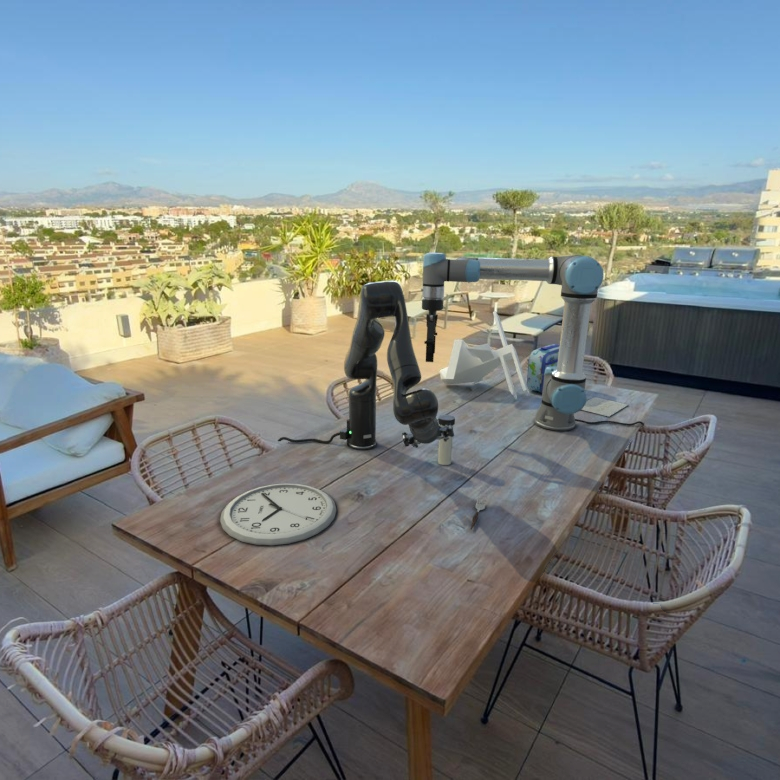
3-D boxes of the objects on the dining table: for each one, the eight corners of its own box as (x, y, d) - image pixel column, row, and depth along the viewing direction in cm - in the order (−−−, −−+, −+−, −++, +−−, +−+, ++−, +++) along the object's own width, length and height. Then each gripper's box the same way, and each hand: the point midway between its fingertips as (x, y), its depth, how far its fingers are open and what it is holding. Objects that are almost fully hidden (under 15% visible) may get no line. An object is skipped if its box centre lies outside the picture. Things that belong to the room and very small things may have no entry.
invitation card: (608, 416, 214) (573, 407, 224) (608, 416, 214) (573, 408, 224) (628, 404, 229) (594, 396, 238) (628, 405, 229) (594, 397, 238)
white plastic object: (461, 429, 252) (437, 405, 227) (444, 352, 274) (420, 323, 250) (535, 404, 240) (518, 377, 215) (510, 326, 262) (492, 293, 237)
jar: (447, 458, 173) (449, 415, 168) (453, 464, 169) (455, 420, 164) (435, 460, 171) (437, 417, 167) (441, 466, 168) (443, 421, 163)
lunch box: (543, 396, 238) (548, 352, 231) (522, 391, 245) (526, 347, 239) (570, 385, 255) (575, 343, 249) (550, 381, 262) (555, 340, 256)
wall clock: (335, 537, 125) (206, 541, 122) (335, 543, 125) (207, 547, 123) (337, 479, 154) (232, 481, 151) (337, 484, 154) (233, 486, 151)
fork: (465, 530, 132) (466, 523, 131) (477, 500, 146) (478, 494, 146) (475, 532, 131) (476, 525, 130) (487, 502, 145) (487, 496, 145)
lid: (450, 419, 169) (450, 413, 169) (457, 425, 165) (458, 419, 164) (435, 421, 168) (435, 415, 167) (442, 427, 163) (443, 421, 162)
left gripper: (447, 406, 138) (452, 424, 153) (395, 418, 140) (404, 434, 155) (453, 433, 135) (457, 448, 150) (400, 445, 137) (409, 458, 152)
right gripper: (424, 293, 195) (422, 349, 202) (419, 302, 172) (417, 365, 178) (444, 294, 195) (441, 350, 201) (442, 303, 171) (439, 366, 177)
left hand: (430, 441), depth 152 cm, fingers open, 8 cm apart
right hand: (430, 357), depth 190 cm, fingers open, 13 cm apart
